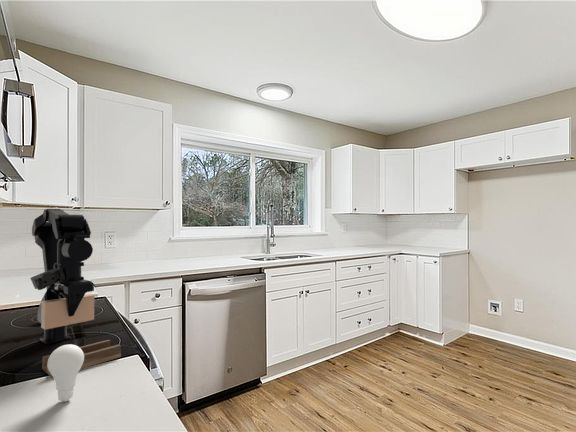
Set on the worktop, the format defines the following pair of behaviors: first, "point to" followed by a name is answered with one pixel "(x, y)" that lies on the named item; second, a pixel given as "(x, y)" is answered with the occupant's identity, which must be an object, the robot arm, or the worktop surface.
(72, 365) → the lightbulb
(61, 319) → the tan rectangular block
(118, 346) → the track
